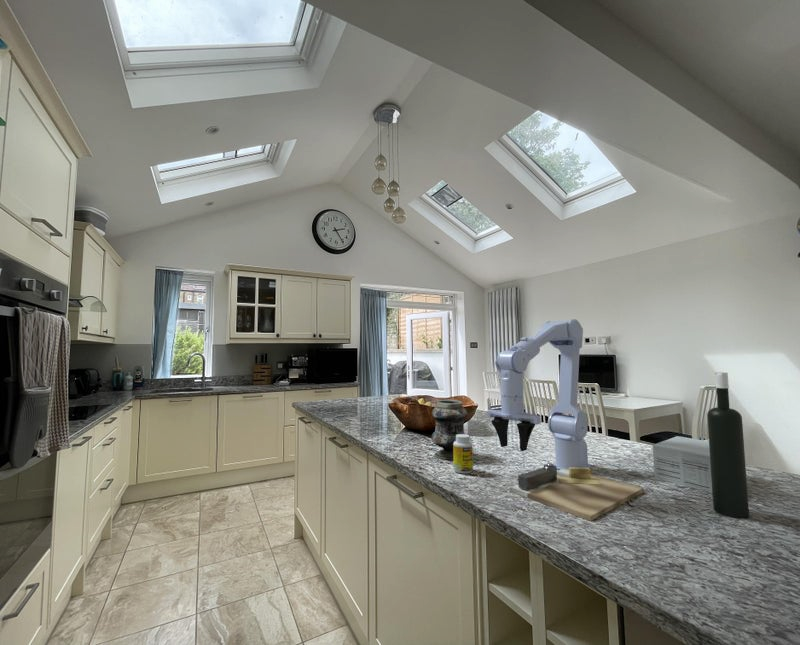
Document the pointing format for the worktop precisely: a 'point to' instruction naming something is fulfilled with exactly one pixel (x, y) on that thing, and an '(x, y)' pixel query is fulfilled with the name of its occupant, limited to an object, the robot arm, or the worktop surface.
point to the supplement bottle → (463, 454)
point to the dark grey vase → (448, 426)
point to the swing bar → (538, 477)
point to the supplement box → (683, 462)
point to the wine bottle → (727, 455)
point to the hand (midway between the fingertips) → (513, 448)
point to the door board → (581, 493)
